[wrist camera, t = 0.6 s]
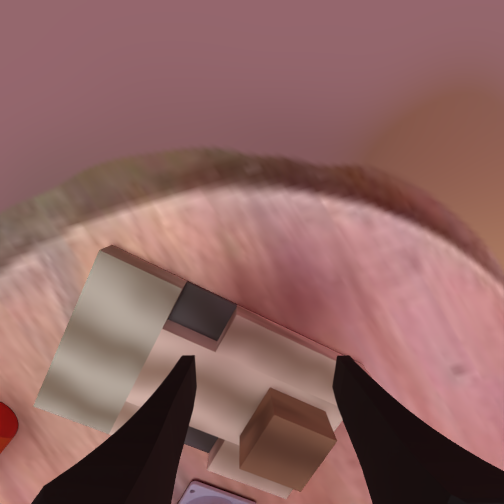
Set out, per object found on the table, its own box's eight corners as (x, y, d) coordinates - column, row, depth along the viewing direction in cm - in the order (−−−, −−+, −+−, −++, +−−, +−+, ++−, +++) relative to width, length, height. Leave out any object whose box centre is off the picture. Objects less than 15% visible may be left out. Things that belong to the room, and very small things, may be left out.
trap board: (282, 478, 28) (286, 499, 26) (49, 389, 25) (33, 406, 23) (362, 364, 26) (372, 378, 24) (111, 245, 22) (99, 250, 20)
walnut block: (293, 457, 25) (300, 491, 22) (239, 436, 24) (239, 468, 22) (325, 411, 24) (337, 441, 21) (270, 387, 23) (274, 414, 20)
